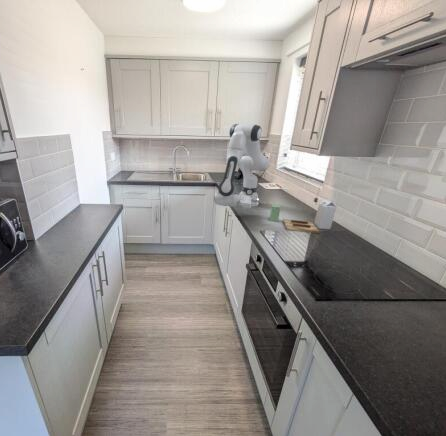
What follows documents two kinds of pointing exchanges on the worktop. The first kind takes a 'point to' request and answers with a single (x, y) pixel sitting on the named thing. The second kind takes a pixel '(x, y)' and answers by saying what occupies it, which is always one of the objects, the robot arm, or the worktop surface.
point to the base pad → (300, 226)
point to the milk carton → (325, 214)
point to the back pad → (274, 213)
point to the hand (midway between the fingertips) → (257, 202)
